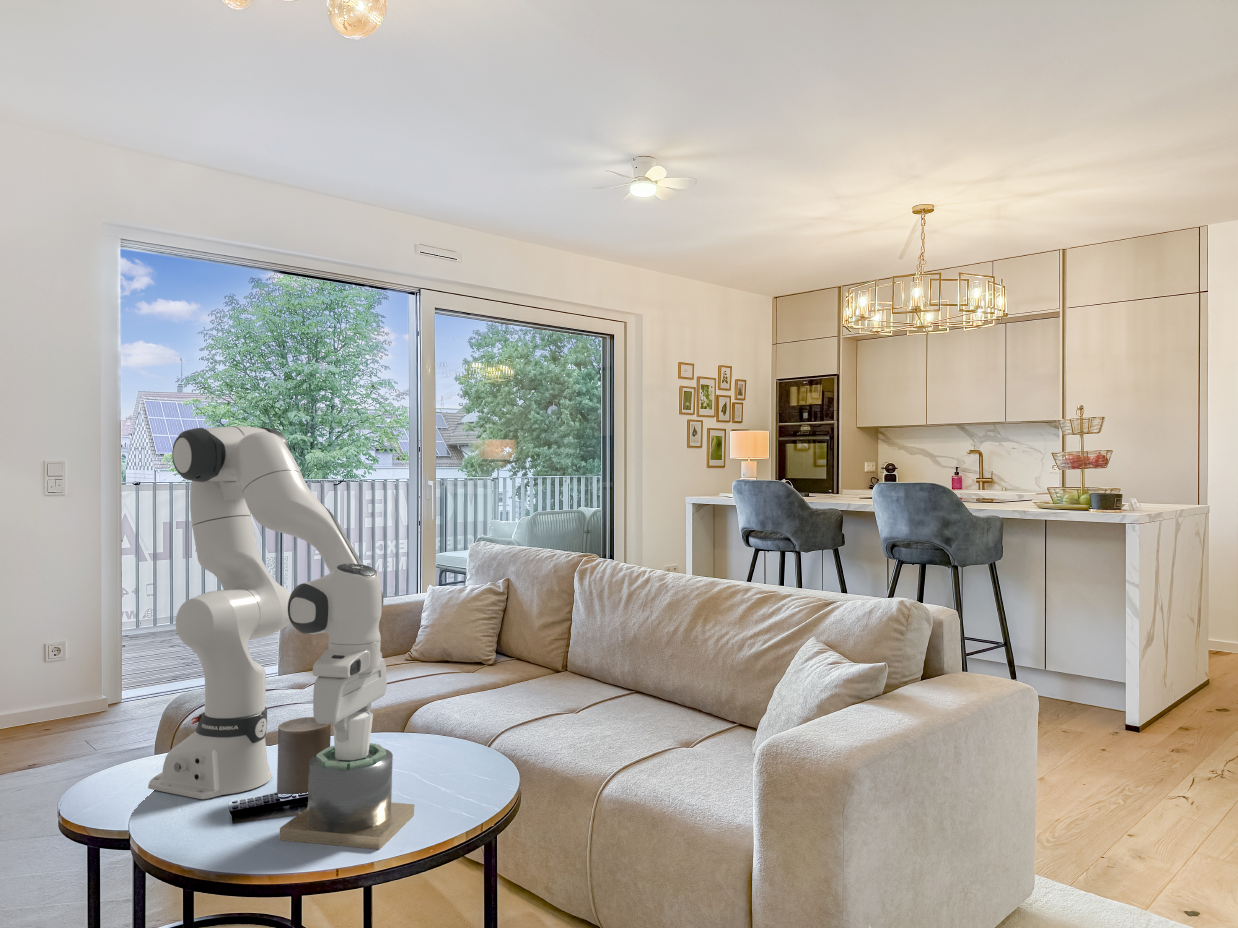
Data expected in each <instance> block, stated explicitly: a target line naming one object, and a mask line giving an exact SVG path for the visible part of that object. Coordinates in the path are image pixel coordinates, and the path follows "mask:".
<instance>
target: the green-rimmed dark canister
mask: <svg viewBox="0 0 1238 928" xmlns="http://www.w3.org/2000/svg"><path fill="white" fill-rule="evenodd" d="M393 756H394V755H393V753H392V751H390V750H389V749H387V748H384V747H383V746H381V745H380V744H377V743H373V742H370V745H369V753H368V755H367V756H366V757H364V758H361V759H357V760H339V759H337V758H335V745H330V747H328V748H326V749H324V750H323V751H321V752H320V753H318V754H317V755H315V756H314V757H312V758H311V759H310V761H309V780H308V802H307V808H305V809H304V810H302V811H301V812H300V813H298V814H296V816H294V817H293V818H292V819H291V820H289V821H288V822H286V823H285V824H283V825H281V826H280V827H279V841H288V842H295V843H296V842H297V843H308V844H318V845H328V846H340V847H350V848H360V849H370V850H371V849H372V850H381V848H383V847H384V846H385V844H387V843H388V842H389V841H390V840H391V839H392V838H393V837H394V836H395V835H396V834H397V833H398V832H399V831H400V830H401V829H402V828H403V827H404V826H405V825H406V824H407V823H408V822H409V821H410V820H411V819H412V818H413V817H414V816H415V803H405V802H403V803H401V802H393V801H392V788H393V760H394V759H393Z"/></svg>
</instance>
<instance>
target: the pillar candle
mask: <svg viewBox="0 0 1238 928" xmlns="http://www.w3.org/2000/svg"><path fill="white" fill-rule="evenodd" d="M331 725H332V724H321V723H317V722H316V720H315V718H314V716H305V717H299V718H298V717H297V718H294V719H293V718H292V719H288V720H286V721H283V722H282V723H280V724H278V726H277V731H278V732H277V737H278V738H277V766H276V767H277V771H276V772H277V773H276V774H277V777H276V795H277V794H299V793H300V794H302V793H307V792H308V780H309V761H310V759H311V758H312V757H314V756H315V755H317V754H318V753H320V752H321V751H323V750H324V749H326V748H328V747H331V731H332V730H331V727H332V726H331Z"/></svg>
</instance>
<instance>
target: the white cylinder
mask: <svg viewBox="0 0 1238 928" xmlns="http://www.w3.org/2000/svg"><path fill="white" fill-rule="evenodd" d="M373 720H374V713H373V712H371V711H370V712H368V711H356V712H355V713H353V714H351V715H349V716H348V722H346V724H347V729H348V740H347V741H345V742H338V741H337V740H336V730H335V727H334V725H333V724H332V725H333V727H332V728H333V743H334V744H333V746H335V758H337V759H339V760H357V759H361V758H364V757H366V756H367V755H368V753H369V745H370V743H371V736H372V735H371V734H372V726H373Z"/></svg>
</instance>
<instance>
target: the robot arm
mask: <svg viewBox="0 0 1238 928" xmlns="http://www.w3.org/2000/svg"><path fill="white" fill-rule="evenodd" d="M171 451H172V452H171V455H172V462H173V466H174V469H175V471H177V473H178V474H179V475H180V476H181V477H182V478H183V479H185V480H187V481H191V483H190V491H189V492H190V493H189V497H190V498H189V503H190V504H189V506H190V507H189V509H190V510H189V511H190V520H191V527H192V533H193V539H194V544H195V551H196V556H197V561H198V564H199V565H200V566H201V567H202V568H203V569H204V570H206V571H208V572H209V573H211V574H213V575H214V577H216V579H217V580H218V582H219V583H220V584H221V586H222V589H219V590H214V591H212V590H211V591H207V592H204V593H202V594H199V595H196V596H193V597H191V598H190V599H187V600H185V601H184V602H183V603H182V604H181V605H180V607H179V608H178V610H177V613H176V617H175V630H176V632H177V635H178V637H179V639H180V640H181V641H182V643H183V644H184V645H185V646H187V647H188V648H191V650H193V651H194V653H195V654H196V656H197V658H198V659H199V661H200V663H201V666H202V670H203V676H204V711H203V712H202V713H200V714H198V716H195V717H193V718H191V721H192V722H191V725H194V724H196V725H197V726H196V727H195V730H194V731H193V732H192V733H191V734H190V735H188V736H187V737H186V738H185V739H183V740H182V741H181V742H179V743H178V744H177V745H176V746H174V747H173V748H171V749H170V751H169V752H167V754H166V756H165V757H164V758H165V759H164V762H163V765H162V766H163V767H162V772H160V773H158V774H157V775H155V776H154V777H152V778H151V779H150V781H148V786H147V789H148V790H152V791H153V790H154V791H159V792H163V793H168V794H174V795H177V796H183V797H189V798H194V799H199V800H207V799H211V798H216V797H220V796H222V795H223V796H225V795H230V794H231V795H232V794H237V793H242V792H245V791H250V790H254V789H256V788H258V787H261V786H263V785H265V784H267V783H268V782H269V781H270V780H271V779H272V772H271V770H270V765H269V760H268V759H269V758H268V754H267V744H266V734H267V729H268V707H267V706H266V693H267V688H266V687H267V685H266V684H267V672H266V670H265V668H264V667H263V665H262V664H260V663H259V662H257V661H254V660H253V658H252V656H251V654H250V649H249V641H252V640H255V639H256V640H257V639H260V638H265V637H269V636H271V635H273V634H274V633H277V632H279V631H280V630H282V629H284V628H286V627H287V626H288V625H289V624H290V623H291V625H292V626H293V628H294V629H295V630H296V631H298V632H299V633H301V634H307V635H308V634H309V635H318V634H323V633H327V634H328V648H326V649H325V650H324V652H323V654H322V655H321V656H320V657H319V658H318V659H317V660H316V661H315V662H314V664H313V666H312V675H313V676H314V677H316V678H315V681H314V685H313V694H312V695H313V699H312V700H313V701H312V702H313V703H312V709H313V710H312V713H313V717H314V718H315V720H316V722H317V723H321V724H331V725H334V727H335V730H336V740H337V741H338V742H345V741H347V740H348V729H347V724H346V722H348V716H349V715H351V714H353V713H355V712H356V711H368V712H371V709H372V703H374V702H375V701H377V700H379V699H381V698H383V697H384V696H385V694H386V691H387V685H388V684H387V683H388V682H387V679H388V678H387V666H386V665H387V663H386V661H385V659H384V658H383V652H382V651H381V644H382V643H381V639H382V638H381V632H380V621H381V618H382V611H383V606H384V594H383V589H382V584H381V578H380V575H379V572H378V571H377V570H376V569H375V568H374V567H373V566H370V565H366V564H363V563H362V561H361V559H360V558H359V555H358V554H357V552H356V550H355V549H354V547H353V546H352V544H351V541H350V540H349V539H348V537H347V535H346V533H345V532H344V530H343V528H342V526H341V525H340V523H339V521H338V519H336V517H335V515H334V514H333V513H332V512H331V511H330V510H329V508H327V507H326V506H325V505H323V503H321V502H320V500H319V499H318V498H317V497H316V496H315V495H314V493H313V492H312V490H311V489H310V487H309V486H308V484H307V483H306V481H305V479H304V477H303V474H302V471H301V470H300V467H299V465H298V463H297V461H296V460H295V458H294V456H293V453H291V451H290V447H289V443H288V440H287V438H286V437H285V435H284V434H283V432H281V431H279V430H277V429H275V428H270V427H265V426H261V427H253V426H244V425H231V426H220V427H219V426H218V427H209V428H204V427H196V428H191V429H187V430H183V431H182V432H180V433H179V435H178V436H177V437H176V439H175V440H174V443H173V446H172V449H171ZM252 517H253V518H254V519H255V521H256V522H258V524H259V525H261V526H262V527H264V528H266V529H269V530H271V531H274V532H278V533H282V534H285V535H289V536H291V537H295V538H298V539H301V540H302V541H305V542H307V543H308V544H309V545H311V546H312V547H314V548H315V549H316V551H317V552H318V553H319V555H320V557H321V559H322V560H323V562H324V564H325V567H326V568H327V570H328V572H329V573H328V574H326V575H324V576H322V577H319V578H315V579H313V580H310V581H306V582H304V583H303V582H302V583H300V584H298V585H296V587H295V588H294V589H293V590H292V592H291V593H290V591H289V590H288V589H286V587H283V586H282V585H281V584H279V583H278V581H276V580H275V579H274V577H273V576H272V575H271V573H270V571H269V570H268V568H267V566H266V565H265V562H264V561H263V558H262V556H261V554H260V552H259V548H258V543H257V539H256V533H255V528H254V524H253V523H254V522H253V518H252ZM197 723H198V724H197Z"/></svg>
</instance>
